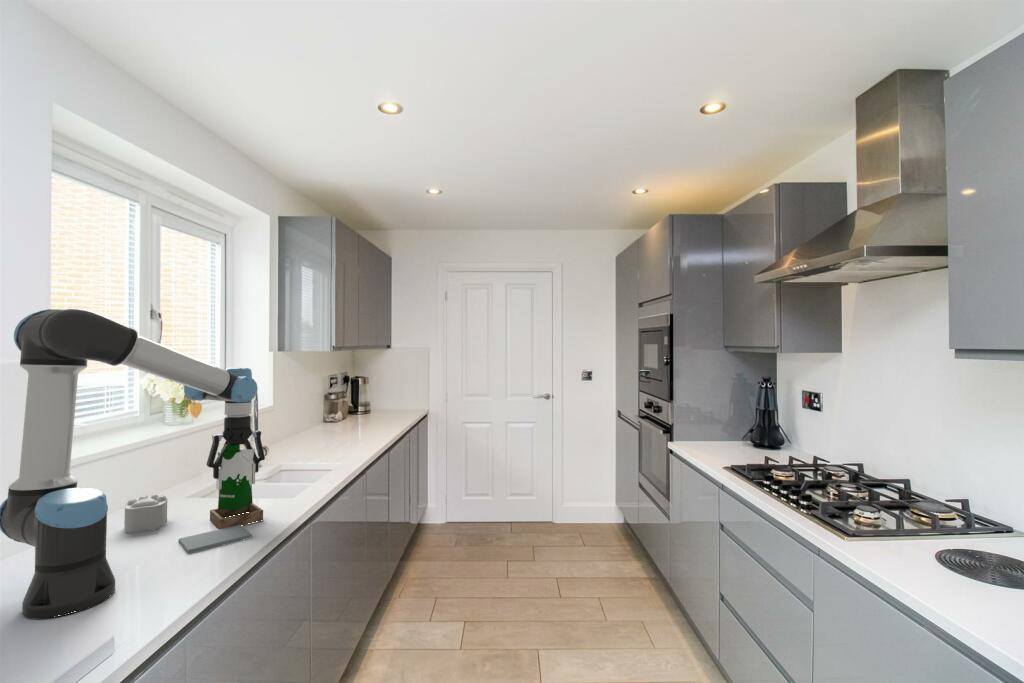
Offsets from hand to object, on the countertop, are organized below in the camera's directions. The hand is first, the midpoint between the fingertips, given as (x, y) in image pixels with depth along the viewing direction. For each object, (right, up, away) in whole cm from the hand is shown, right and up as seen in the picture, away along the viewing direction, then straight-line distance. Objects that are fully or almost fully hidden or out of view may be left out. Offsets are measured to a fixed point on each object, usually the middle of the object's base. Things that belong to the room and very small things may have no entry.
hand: (236, 485), depth 156 cm
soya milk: (0, -7, 0) cm, 7 cm away
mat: (+3, -11, -15) cm, 19 cm away
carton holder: (0, -11, 0) cm, 11 cm away
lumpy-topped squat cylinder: (-26, -11, -3) cm, 29 cm away
